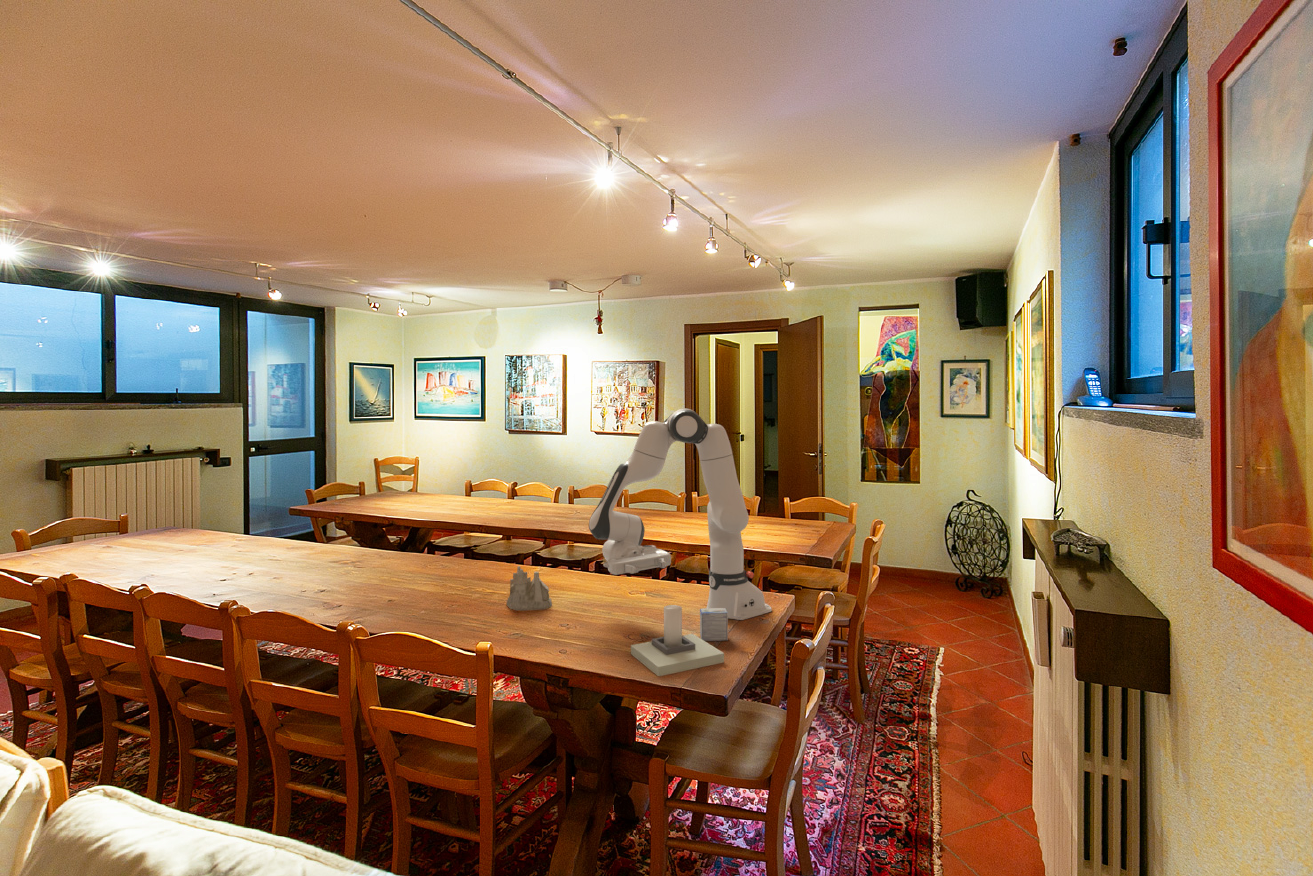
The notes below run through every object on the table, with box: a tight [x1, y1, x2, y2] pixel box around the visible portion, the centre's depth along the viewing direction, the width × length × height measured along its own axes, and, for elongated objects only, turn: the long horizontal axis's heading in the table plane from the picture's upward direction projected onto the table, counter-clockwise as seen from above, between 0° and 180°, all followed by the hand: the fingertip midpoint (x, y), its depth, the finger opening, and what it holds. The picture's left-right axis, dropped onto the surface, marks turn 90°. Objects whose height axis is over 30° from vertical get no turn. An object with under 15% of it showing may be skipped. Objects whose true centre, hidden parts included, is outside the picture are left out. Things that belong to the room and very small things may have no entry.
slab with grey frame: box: [630, 633, 725, 677], centre depth 178 cm, size 20×17×4 cm
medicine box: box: [699, 607, 729, 642], centre depth 193 cm, size 8×4×9 cm, turn 92°
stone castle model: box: [506, 565, 553, 612], centre depth 228 cm, size 16×16×15 cm
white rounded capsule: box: [663, 604, 683, 648], centre depth 180 cm, size 5×5×11 cm
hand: (650, 567), depth 195 cm, fingers open, 8 cm apart
